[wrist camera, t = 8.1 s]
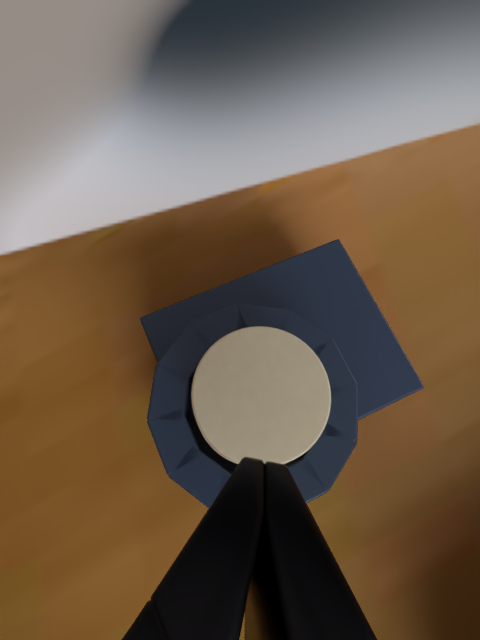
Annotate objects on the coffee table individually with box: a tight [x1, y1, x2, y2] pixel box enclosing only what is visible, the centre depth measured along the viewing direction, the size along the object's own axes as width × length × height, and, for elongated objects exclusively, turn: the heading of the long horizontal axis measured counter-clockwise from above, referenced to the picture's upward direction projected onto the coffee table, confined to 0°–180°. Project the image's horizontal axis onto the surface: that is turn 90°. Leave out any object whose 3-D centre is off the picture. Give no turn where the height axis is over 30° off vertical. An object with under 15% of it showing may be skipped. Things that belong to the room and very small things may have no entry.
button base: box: [140, 239, 424, 508], centre depth 18 cm, size 10×8×6 cm
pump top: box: [191, 326, 331, 464], centre depth 13 cm, size 4×4×2 cm
